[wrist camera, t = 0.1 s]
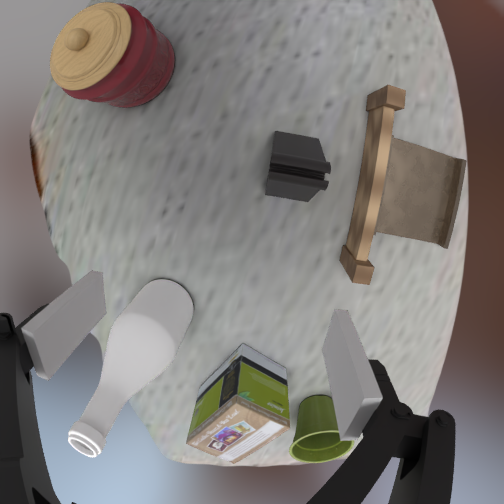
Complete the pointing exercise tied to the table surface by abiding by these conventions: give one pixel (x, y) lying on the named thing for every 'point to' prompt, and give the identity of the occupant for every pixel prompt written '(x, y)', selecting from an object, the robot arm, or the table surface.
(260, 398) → the tea box
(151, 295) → the wine bottle
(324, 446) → the plant pot
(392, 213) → the keeper plate
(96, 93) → the canister
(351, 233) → the door pull handle
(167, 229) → the table surface
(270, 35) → the table surface
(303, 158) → the phone stand
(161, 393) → the table surface
